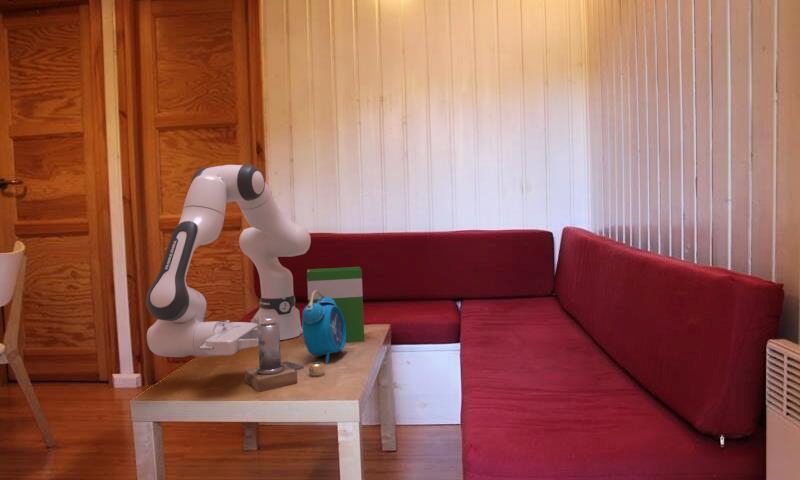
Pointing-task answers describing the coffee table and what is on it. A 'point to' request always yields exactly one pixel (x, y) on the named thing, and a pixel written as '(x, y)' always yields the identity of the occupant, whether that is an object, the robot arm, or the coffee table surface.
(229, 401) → the coffee table surface
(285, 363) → the steel plate
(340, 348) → the alarm clock
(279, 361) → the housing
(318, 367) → the brass knob
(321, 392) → the coffee table surface
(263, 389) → the stand
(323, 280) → the hardback book
